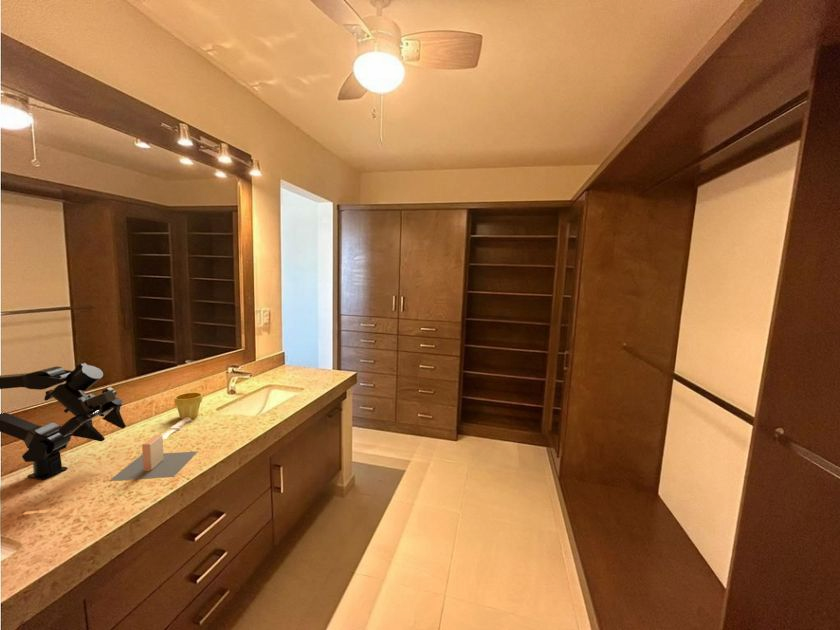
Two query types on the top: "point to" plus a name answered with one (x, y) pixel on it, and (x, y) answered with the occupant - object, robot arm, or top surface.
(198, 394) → the plant pot
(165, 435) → the knife
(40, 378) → the robot arm
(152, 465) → the tile
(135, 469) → the mat
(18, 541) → the top surface
